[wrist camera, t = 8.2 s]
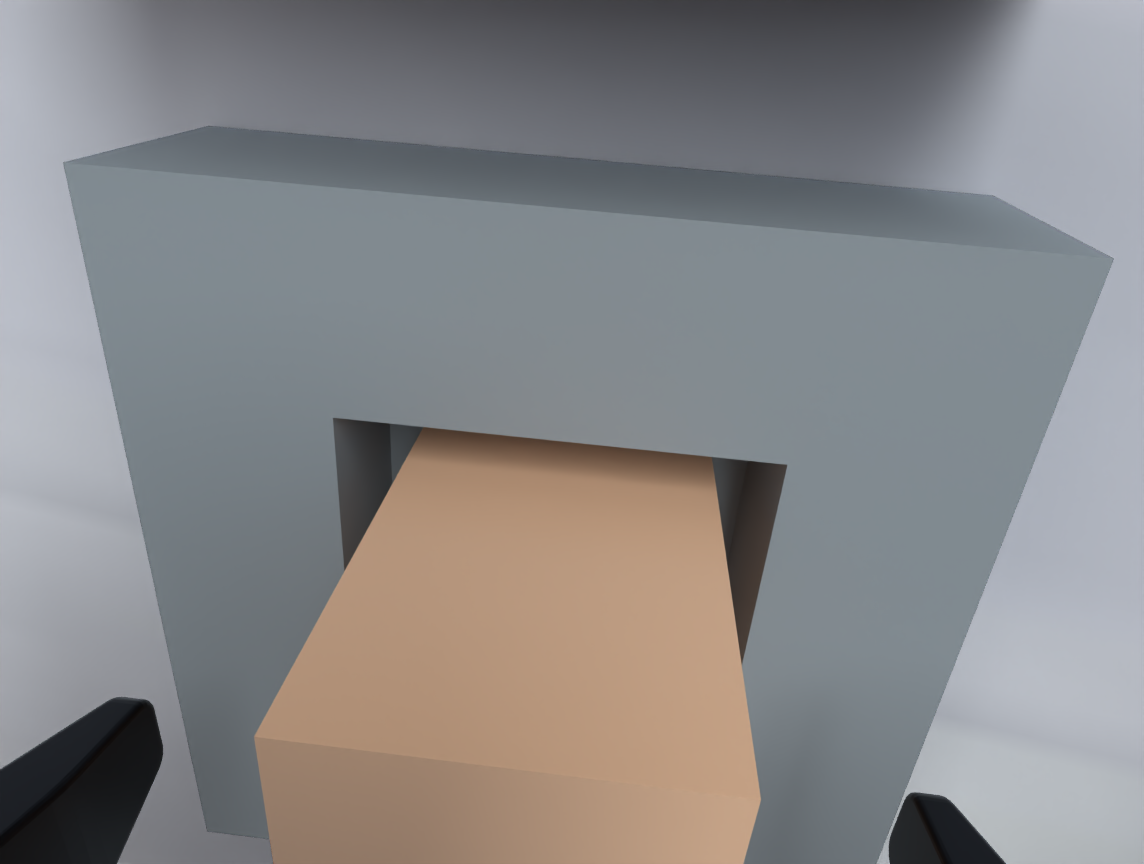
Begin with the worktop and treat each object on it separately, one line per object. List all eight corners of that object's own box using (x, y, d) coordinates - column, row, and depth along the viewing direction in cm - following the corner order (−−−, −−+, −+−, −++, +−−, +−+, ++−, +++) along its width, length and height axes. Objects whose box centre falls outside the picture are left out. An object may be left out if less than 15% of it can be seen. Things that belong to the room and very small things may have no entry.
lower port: (993, 195, 12) (1114, 259, 9) (820, 755, 18) (856, 914, 14) (208, 125, 12) (62, 162, 9) (282, 691, 18) (206, 831, 15)
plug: (707, 426, 13) (760, 800, 7) (670, 633, 15) (687, 1065, 9) (439, 397, 13) (253, 736, 7) (439, 606, 15) (296, 1011, 9)
